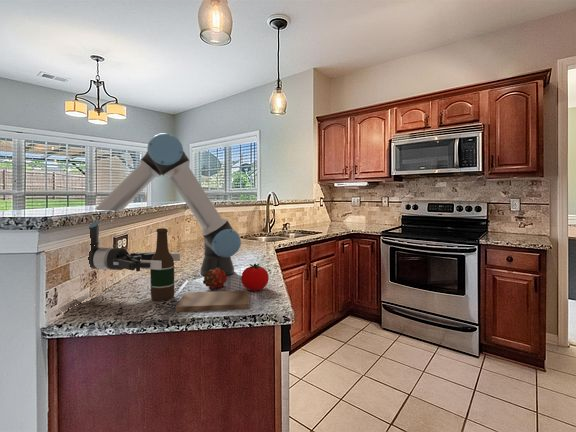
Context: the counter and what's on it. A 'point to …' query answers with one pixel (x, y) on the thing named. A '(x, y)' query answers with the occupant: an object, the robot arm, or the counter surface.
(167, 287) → the beer bottle
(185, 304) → the wooden cutting board
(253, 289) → the tomato
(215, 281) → the dragon fruit
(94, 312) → the counter surface
